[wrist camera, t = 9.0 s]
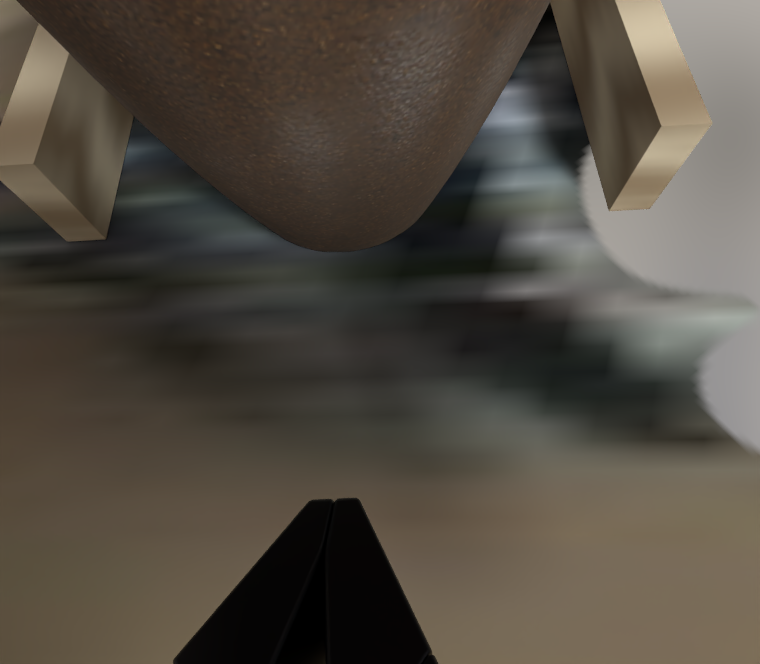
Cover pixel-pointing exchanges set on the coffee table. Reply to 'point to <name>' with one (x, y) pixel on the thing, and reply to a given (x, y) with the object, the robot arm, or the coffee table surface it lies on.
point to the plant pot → (306, 97)
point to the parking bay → (585, 62)
